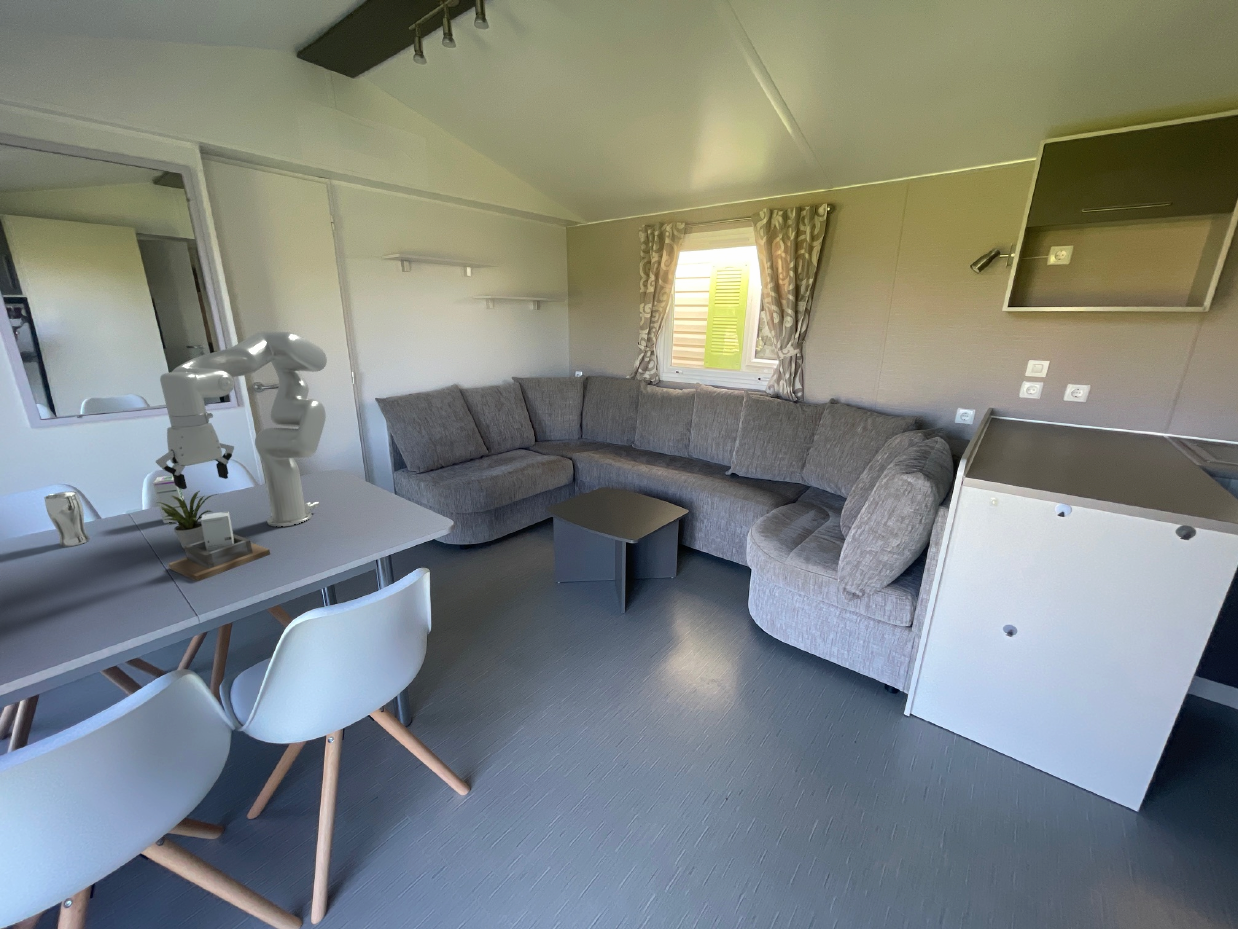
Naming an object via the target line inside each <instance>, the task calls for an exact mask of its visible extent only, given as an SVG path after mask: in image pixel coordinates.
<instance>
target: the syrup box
mask: <svg viewBox="0 0 1238 929" xmlns="http://www.w3.org/2000/svg"><path fill="white" fill-rule="evenodd" d="M152 484H153V487H154V490H155V491H154V492H155V496H156V500H157V502H161V503H164V504H168V505H170V506H172V507H173V508H175V509H176V510H177V511H178V512H179V513H180V514H181V515H183V516H184V513H183V510H182V508H181V506H180V504H179V502H178V501H177V500H176V499H174V498H172V496H175V497H177V498H180V499H181V500H182V498H183V499H184V501H185V498H184V497H185V496H184V492H183V489H181V488H178V487H177V486H176V485H175V483H174V479H173V475H165V476H158V477H156V478H155V479H154V481H153V482H152ZM180 496H181V497H182V498H181V497H180ZM182 501H183V500H182ZM185 502H186V501H185ZM161 503H158V507H159V511H160V514H161V518H162V521H163V524H170V523H169V522H172V523H178V522H177V521H173V520H164V519H168V518H172V517H165V516H167V515H168V514H166V513H165V512H164V510H163V509H161V507H165V508H166V509H170V508H168V507H167V506H165V505H163V504H161ZM170 510H171V509H170ZM163 517H164V518H163ZM184 517H185V516H184Z"/></svg>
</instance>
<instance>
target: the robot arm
mask: <svg viewBox="0 0 1238 929" xmlns="http://www.w3.org/2000/svg"><path fill="white" fill-rule="evenodd" d="M327 358H328V357H327V355H326V353H325V351H324V350H323V349H322V348H321V347H320V346H319V345H317V344H316V343H314V342H312V341H310V340H308V339H307V338H304V337H302V336H301V335H299V334H296V333H294V332H289V331H272V330H271V331H268V330H267V331H260V332H257V333H254V334H253V335H251V336H249V337H247V338H246V339H244V340H242V341H240V342H239V343H237V344H235V345H232V346H231V347H228V348H224V349H221V350H217V351H215V352H210V353H207V354H202V355H200V356H196V357H194V358H192V359H190V360H187V361H185V362H183V363H182V364H180V365H178V366H177V367H175V368H174V369H173V370H172V371H171V372H165V373H163V374H161V375H160V377H159V381H160V385H161V389H162V394H163V398H164V402H165V406H166V410H167V415H168V420H169V422H170V426H169V427H167V429H166V442H167V451H168V452H167V453H164V455H162V456H161V457H159V458H157V459H156V460H155V464H157V466H159V467H160V468H161V469H162V470H163V471H165V472H167V473H170V475H171V476H173V479H174V483H175V485H176V486H177V487H178V488H181V489H182V490H186V489H187V488H188V487H187V483H186V478H185V474H183V473H182V472H183V471H184V469H185V468H186V467H189V466H193V465H198V464H203V463H208V462H214V461H215V462H217V463H216V465H215V466H216V470H217V474H218V475H217V476H218V478H221V479H224V480H227V479H229V469H228V464H229V461H230V459H231V458H232V457H233V453H234V450H235V446H233V445H230V444H226V443H221V442H220V441H219V437H218V434H217V432H216V430H215V428H214V426H213V424H212V422H210V419H213V418H214V415H213V413H212V412H207V410H206V404H205V398H222V397H226V396H228V395H229V394H230V393H232V392H233V390H234V387H235V380H234V378H235V377H237V378H238V377H242V376H247V375H251V374H255V373H256V372H257V371H259V370H261V369H262V368H263V367H264V366H266V365H268V364H269V363H271V365H272V366H273V368H274V370H275V372H276V375H277V378H278V387H277V391H276V395H275V398H274V400H273V404H272V406H271V410H270V414H269V415H270V416H269V418H270V420H271V422H272V423H273V424H275V425H277V426H280V427H268V428H263V429H261V430H260V431H259V432H258V433H257V434H256V436H255V438H254V445H255V448H256V451H257V454H258V456H259V457H260V461H261V464H262V468H263V473H264V480H265V484H266V489H267V490H266V491H267V496H268V500H269V501H268V502H269V507H270V513H271V516H269V517H268V518H267V519H266V521H267V522H266V523H267V524H268V526H271V527H276V526H277V528H280V527H281V526H283V527H291V526H295V525H294V524H296V525H299V523H300V524H302V523H301V522H303V523H305V522H307V521H309V520H310V519H312V512H311V510H312V509H315V508H318V507H320V503H319V501H313V502H310V501H308V502H305V500H304V494H303V488H302V487H303V486H302V481H301V474H300V468H299V466H298V463H297V462H296V460H295V459H309V458H311V457H312V456H314V455H315V453H316V452H317V450H318V447H319V443H320V440H321V438H322V433H323V430H324V427H325V422H326V417H327V416H326V409H325V407H324V404H322V403H321V401H319V400H316V399H313V398H308V395H309V390H310V388H309V385H308V382H307V381H306V379H305V378H304V376H303V375H302V373H301V372H308V373H309V372H312V373H313V372H316V373H317V372H321V371H323V369H325V367H326V365H327V362H328V360H327ZM222 449H224V451H225V452H224V453H223V450H222ZM169 461H170V462H171V464H173V465H172V466H169V464H168V462H169ZM308 519H309V520H308ZM306 520H307V521H306ZM304 521H305V522H304Z"/></svg>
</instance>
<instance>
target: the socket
mask: <svg viewBox="0 0 1238 929" xmlns="http://www.w3.org/2000/svg"><path fill="white" fill-rule="evenodd" d="M233 538H234V544H232V545H229V546H226V547H224V548H221V549H218V550H215V551H212V552H207V551H206V545H205V540H203V541H200V542H197V543H193V544H190V545H187V546H184V547H185V549H184V552H185V556H186V557H184V558H182V559H178V560H175V561H173V562H169V563H168V567H169V569H170V570H172V571H174V572H176V573H178V574H180V575H183V576H184V577H186V578H189V579H192V580H194V581H196V582H200V581H202V580H205V579H208V578H210V577H213V576H216V575H219V574H222V573H224V572H226V571H229V570H232V569H234V568H238V567H240V566H242V565H243V566H244V565H246V564H248V563H251V562H253V561H255V560H256V561H257V560H258V559H261V558H263V557H266V556H269V555H271V550H270V548H267V547H264V546H261V545H259V544H256V543H253V542H252V541H251V539H248V538H245V537H243V536H240V535H238V534H235V533H233ZM268 554H269V555H268Z"/></svg>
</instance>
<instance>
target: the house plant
mask: <svg viewBox="0 0 1238 929" xmlns="http://www.w3.org/2000/svg"><path fill="white" fill-rule="evenodd" d="M200 491H201V490H197V491H196V492H195V493H194V494H193V495H192V497H191V499H190V500H189V508H188V505H187V503H186V501H184V500H185V498H184V499H183V498H182V497H181V496H180V497H181V498H182V500H183V501H182V500H181V499H180V498H177V497H175V496H172V498H174V499H176V500H177V501H178V502H179V504H180V506H181V508H182V510H183V513H184V516H185V517H184V516H183V515H181V514H180V513H179V512H178V511H177V510H176V509H175V508H173V507H172V506H170V505H168V504H164V503H161V502H158V501H156V503H161V504H163V505H165V506H167V507H168V508H170V509H171V510H170V509H166V508H165V507H161V509H163V510H164V512H165V513H166V514H168V515H167V516H165V517H172V518H168V519H164V520H173V521H177V522H172V523H168V526H171V525H176V526H175V527H174V528H173V530H174V533H175V535H176V536H177V538H178V541H179V543H180V545H181V547H182V548H183V550H185V547H184V546H187V545H190V544H193V543H197V542H200V541H203V540H204V535H203V530H202V524H201V518H202V515H205V514H208V513H210V512H211V513H213V511H212V510H205V511H203V512H201V514H199V516H198V517H197V515H198V512H199V510H200V509H201V508H202V505H203V504H205V502H206V501H207V500H209V498H211V497H213V496H217V495H218V493H215V494H212V495H209V496H207V497H206V496H205V495H203V496H200V497H199V496H198V495H199V493H200ZM205 497H206V498H205ZM198 498H199V500H198V501H197V503H196V505H195V501H196V499H198ZM194 505H195V506H194ZM163 518H164V517H163Z"/></svg>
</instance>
